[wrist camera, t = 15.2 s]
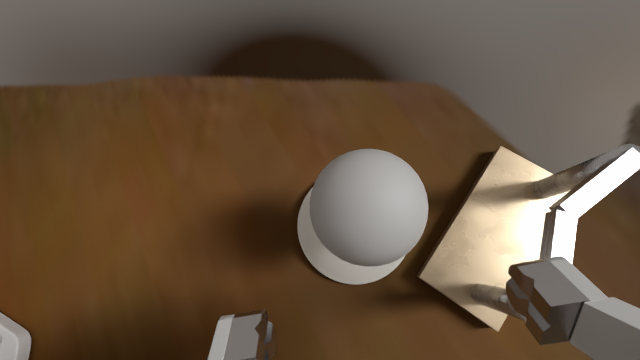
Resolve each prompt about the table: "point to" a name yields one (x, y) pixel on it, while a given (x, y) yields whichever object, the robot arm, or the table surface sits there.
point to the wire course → (516, 225)
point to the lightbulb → (368, 207)
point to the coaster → (330, 262)
